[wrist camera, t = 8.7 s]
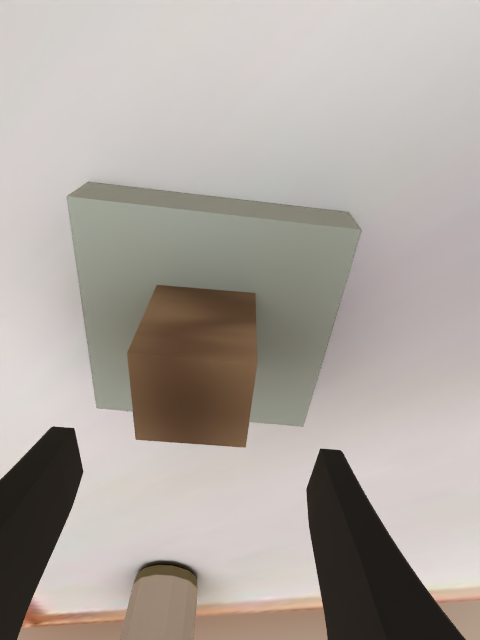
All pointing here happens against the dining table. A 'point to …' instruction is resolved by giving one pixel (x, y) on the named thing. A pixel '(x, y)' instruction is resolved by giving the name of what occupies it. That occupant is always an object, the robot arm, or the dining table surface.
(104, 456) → the dining table surface
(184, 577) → the bottle
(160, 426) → the walnut block
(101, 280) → the grey platform
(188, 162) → the dining table surface
